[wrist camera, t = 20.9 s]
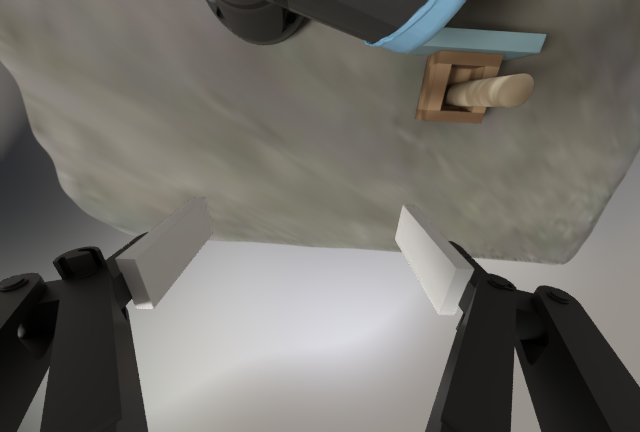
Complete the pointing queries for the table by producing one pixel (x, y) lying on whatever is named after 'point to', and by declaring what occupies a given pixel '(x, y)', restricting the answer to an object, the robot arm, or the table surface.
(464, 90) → the dowel
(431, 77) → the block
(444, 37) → the wall
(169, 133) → the table surface
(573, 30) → the table surface
